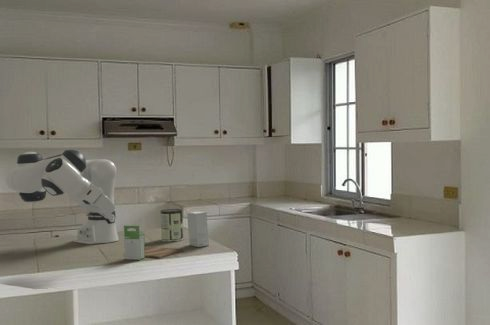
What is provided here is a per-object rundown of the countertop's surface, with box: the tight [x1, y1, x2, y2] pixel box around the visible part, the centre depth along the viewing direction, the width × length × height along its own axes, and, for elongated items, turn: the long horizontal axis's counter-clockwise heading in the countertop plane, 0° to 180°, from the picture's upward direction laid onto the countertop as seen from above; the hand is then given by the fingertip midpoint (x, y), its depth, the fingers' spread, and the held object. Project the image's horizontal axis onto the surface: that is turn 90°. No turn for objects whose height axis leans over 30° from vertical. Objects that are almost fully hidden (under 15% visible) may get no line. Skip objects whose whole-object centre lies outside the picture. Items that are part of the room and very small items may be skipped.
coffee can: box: [159, 208, 184, 243], centre depth 250 cm, size 10×10×14 cm
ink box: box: [123, 225, 146, 261], centre depth 208 cm, size 7×4×13 cm, turn 71°
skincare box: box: [187, 210, 210, 248], centre depth 233 cm, size 8×6×15 cm
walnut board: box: [124, 246, 184, 259], centre depth 219 cm, size 18×16×1 cm
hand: (109, 217), depth 201 cm, fingers closed
